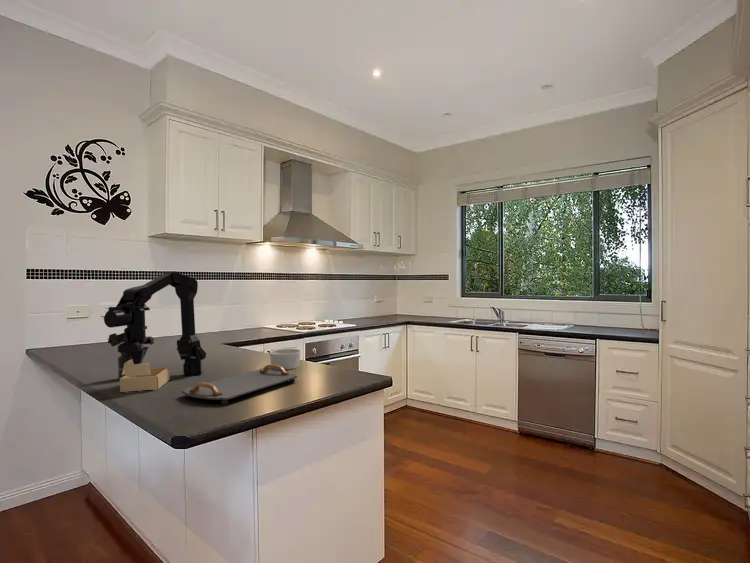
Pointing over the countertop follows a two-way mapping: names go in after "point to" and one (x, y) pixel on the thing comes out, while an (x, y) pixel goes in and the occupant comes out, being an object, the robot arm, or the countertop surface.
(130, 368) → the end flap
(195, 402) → the countertop surface
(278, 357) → the ramekin
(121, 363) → the supplement bottle
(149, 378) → the carton
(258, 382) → the serving board
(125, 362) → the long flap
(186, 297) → the robot arm
